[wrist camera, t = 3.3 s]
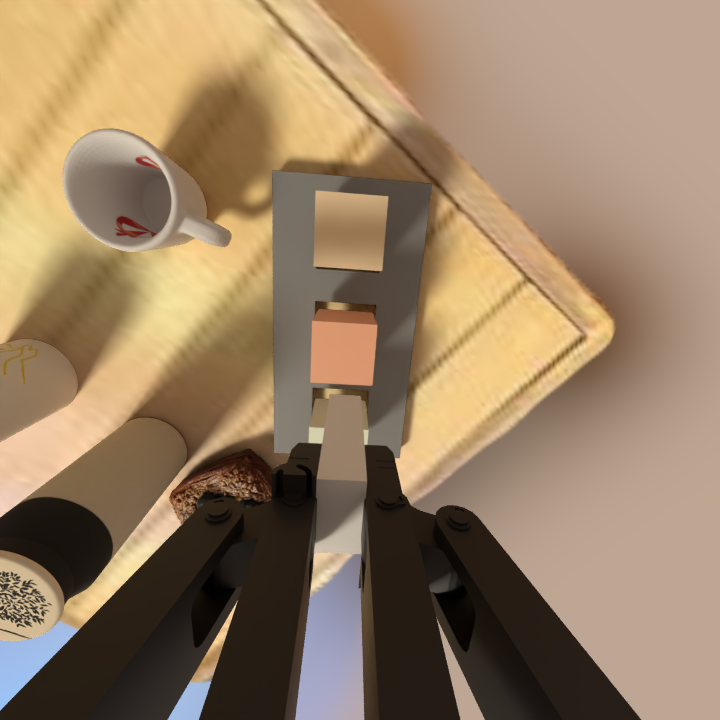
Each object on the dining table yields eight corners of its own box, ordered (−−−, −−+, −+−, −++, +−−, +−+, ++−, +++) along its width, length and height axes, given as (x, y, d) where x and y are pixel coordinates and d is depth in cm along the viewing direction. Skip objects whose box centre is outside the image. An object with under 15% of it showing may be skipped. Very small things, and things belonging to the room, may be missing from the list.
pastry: (303, 505, 42) (297, 543, 37) (223, 544, 44) (204, 587, 38) (253, 436, 39) (237, 466, 34) (168, 481, 41) (139, 517, 35)
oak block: (322, 203, 29) (315, 190, 23) (380, 207, 29) (388, 196, 23) (320, 264, 30) (313, 266, 25) (375, 268, 31) (382, 271, 25)
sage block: (315, 398, 34) (309, 427, 28) (365, 400, 34) (368, 429, 29) (314, 442, 36) (307, 478, 30) (361, 444, 36) (364, 480, 30)
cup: (260, 202, 32) (232, 186, 24) (229, 280, 34) (194, 288, 26) (145, 141, 30) (76, 102, 22) (119, 227, 32) (48, 218, 24)
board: (276, 174, 31) (272, 170, 30) (427, 186, 32) (431, 183, 30) (276, 445, 39) (274, 452, 38) (397, 450, 40) (399, 458, 38)
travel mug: (137, 402, 37) (-45, 530, 20) (201, 441, 39) (85, 590, 22) (103, 453, 39) (-90, 611, 22) (167, 488, 40) (33, 661, 23)
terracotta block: (318, 308, 32) (311, 320, 26) (372, 312, 32) (377, 324, 26) (316, 360, 33) (310, 382, 27) (368, 363, 33) (372, 385, 28)
